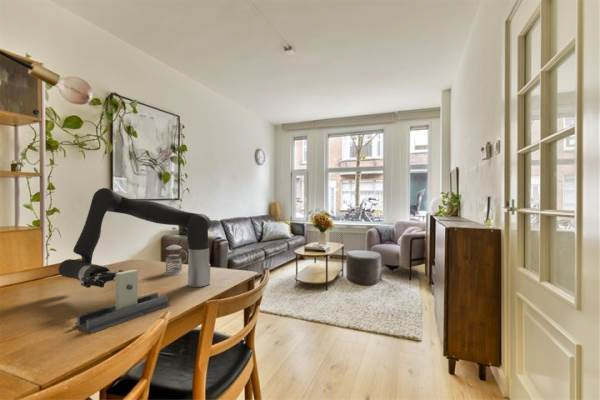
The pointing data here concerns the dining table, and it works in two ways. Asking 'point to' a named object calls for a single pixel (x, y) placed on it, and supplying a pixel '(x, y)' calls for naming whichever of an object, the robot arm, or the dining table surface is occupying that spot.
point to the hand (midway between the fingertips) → (116, 281)
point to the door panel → (126, 289)
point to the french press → (172, 258)
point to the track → (120, 313)
